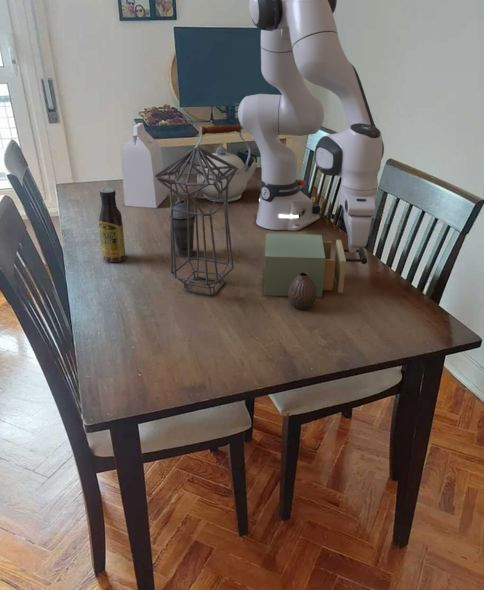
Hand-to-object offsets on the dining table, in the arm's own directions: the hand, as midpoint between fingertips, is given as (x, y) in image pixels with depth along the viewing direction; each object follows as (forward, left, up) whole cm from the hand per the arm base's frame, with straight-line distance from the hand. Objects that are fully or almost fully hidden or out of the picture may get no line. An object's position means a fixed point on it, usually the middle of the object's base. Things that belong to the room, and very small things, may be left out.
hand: (351, 250), depth 140 cm
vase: (+18, 0, -10) cm, 20 cm away
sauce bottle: (+37, -55, -10) cm, 67 cm away
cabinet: (+10, -11, -10) cm, 18 cm away
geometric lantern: (+29, -25, -10) cm, 39 cm away
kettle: (-23, -77, -10) cm, 81 cm away
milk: (+3, -91, -10) cm, 91 cm away
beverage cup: (+20, -45, -10) cm, 50 cm away
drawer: (+4, -4, -9) cm, 11 cm away
